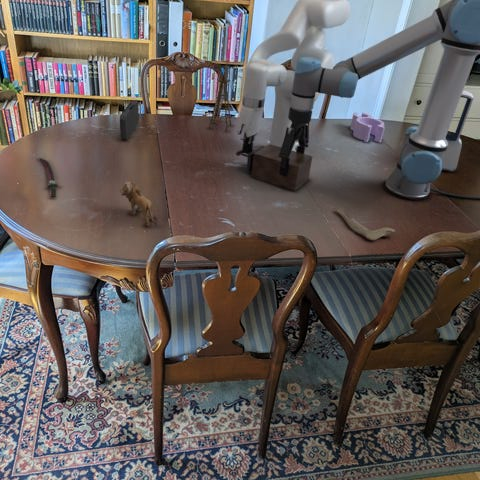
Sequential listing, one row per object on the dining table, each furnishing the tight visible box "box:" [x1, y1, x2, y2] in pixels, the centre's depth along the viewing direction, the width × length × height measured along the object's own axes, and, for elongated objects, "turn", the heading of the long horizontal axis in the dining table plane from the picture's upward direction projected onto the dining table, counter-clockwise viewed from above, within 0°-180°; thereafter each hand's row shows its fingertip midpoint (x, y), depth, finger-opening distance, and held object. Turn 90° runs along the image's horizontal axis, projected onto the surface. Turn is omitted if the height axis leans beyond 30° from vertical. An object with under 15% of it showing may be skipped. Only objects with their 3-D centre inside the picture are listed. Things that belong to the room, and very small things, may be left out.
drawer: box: [235, 145, 265, 174], centre depth 167 cm, size 22×11×7 cm, turn 59°
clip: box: [349, 112, 386, 143], centre depth 214 cm, size 20×12×7 cm, turn 11°
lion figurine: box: [119, 181, 159, 227], centre depth 134 cm, size 15×5×9 cm, turn 50°
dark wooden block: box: [250, 143, 313, 192], centre depth 165 cm, size 17×12×9 cm
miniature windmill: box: [208, 56, 232, 132], centre depth 198 cm, size 9×8×30 cm
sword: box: [40, 158, 59, 198], centre depth 151 cm, size 31×3×1 cm, turn 26°
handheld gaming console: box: [119, 99, 140, 141], centre depth 189 cm, size 23×3×10 cm, turn 178°
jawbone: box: [334, 207, 396, 241], centre depth 142 cm, size 9×20×2 cm, turn 50°
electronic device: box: [441, 90, 474, 173], centre depth 182 cm, size 12×8×30 cm, turn 71°
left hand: (246, 152), depth 168 cm, fingers closed
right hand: (290, 169), depth 163 cm, fingers closed on dark wooden block, 12 cm apart
